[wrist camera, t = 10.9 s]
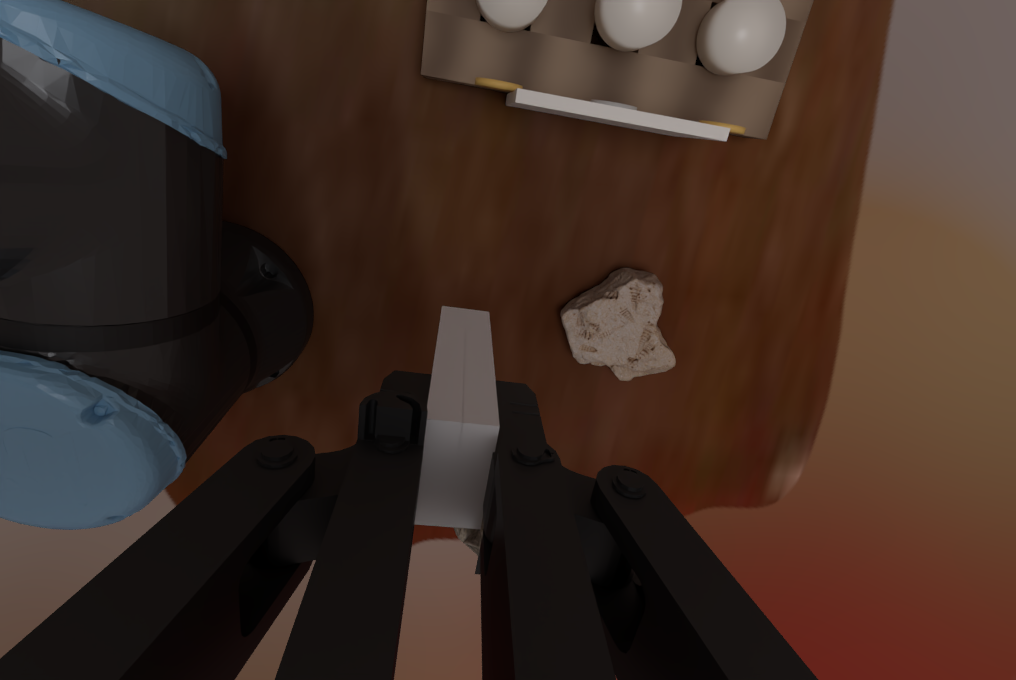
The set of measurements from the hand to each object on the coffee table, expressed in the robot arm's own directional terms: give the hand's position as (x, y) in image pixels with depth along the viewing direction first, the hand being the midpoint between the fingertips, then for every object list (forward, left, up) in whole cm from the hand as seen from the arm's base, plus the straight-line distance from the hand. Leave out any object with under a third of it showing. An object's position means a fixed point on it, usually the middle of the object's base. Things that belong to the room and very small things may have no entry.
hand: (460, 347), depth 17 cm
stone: (+16, -8, -30) cm, 35 cm away
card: (+9, +9, -29) cm, 32 cm away
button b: (+9, +15, -27) cm, 32 cm away
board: (+9, +15, -29) cm, 34 cm away
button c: (+17, +15, -29) cm, 37 cm away
